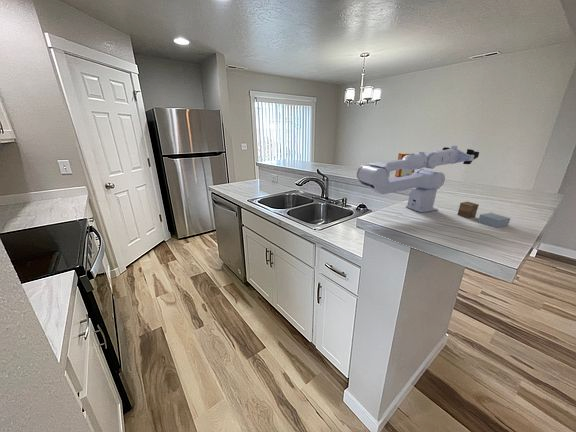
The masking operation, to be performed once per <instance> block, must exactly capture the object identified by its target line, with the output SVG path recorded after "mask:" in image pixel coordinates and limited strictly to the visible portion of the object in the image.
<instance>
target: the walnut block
mask: <svg viewBox="0 0 576 432" xmlns="http://www.w3.org/2000/svg"><path fill="white" fill-rule="evenodd" d="M479 205H480V204H478V203H475V202H470V201H465V202H464V201H463V202H460V204H459V207H458V212H457V216H459V217H462V218H465V219H473V218H476V215H477V212H478V209H479Z"/></svg>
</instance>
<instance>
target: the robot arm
mask: <svg viewBox="0 0 576 432" xmlns="http://www.w3.org/2000/svg"><path fill="white" fill-rule="evenodd" d="M408 153H409V155H406V156H404V157H403V158H402V160H398V159H395V160H386V161H377V162H370V163H368V164H362V165H360V166H359V167H358V168H357V170H356V179H357V180H358V181H359V183H360V184H361V185H362V186H365V187H367V188H368V189H370V190H372V191H374V193H377V194H380V195H387V194H392V193H393V194H394V193H397V192H402V191H407V190H410V192H409V195H408V199H407V204H406V205H405V208H407V209H410V210H413V211H416V212H419V213H425V212H433V211H438V210H439V209H438V208H437V207H434V204H435V201H436V196H437V192H438V190H440V188H441V187H442V186H443V185H444V183H445V182H446V181H445V180H446V176H445V173H444V172H441V171H440V172H437V171H433V169H434V168H436V167H439V166H444V165H445V166H446V165H452V164H457V163H461V162H463V165H471V164H472V162H474V160H475V159H477V158H479V155H480V152H479V151H475V150H474V149H471V148H467V150H466V152H464V151H462V150H460V149H459V148H458V145H451V146H450V147H446V146H445V147H443V148H442V150H434V151H429V152H427V151H418V152H417V153H414V152H408ZM399 169H404V170H405V171H410V170H414V173H412V175H409V176H403V177H393V178H390V174H391V173H390V172H396V170H399ZM426 169H427V170H426ZM428 169H431V170H428ZM415 170H417V171H415ZM411 189H412V190H411Z"/></svg>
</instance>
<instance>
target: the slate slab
mask: <svg viewBox="0 0 576 432" xmlns="http://www.w3.org/2000/svg"><path fill="white" fill-rule="evenodd" d="M510 221H511V218H510V217H507V216H504V215H501V214H497V213H493V212H487V213H483V214H482V213H481V214H480V215H479V217H478V221H477V222H478V223H480V224H483V225H487V226H489V227H493V228H495V229H499V228H504V227H508V226H509V223H510Z"/></svg>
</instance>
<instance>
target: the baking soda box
mask: <svg viewBox="0 0 576 432" xmlns="http://www.w3.org/2000/svg"><path fill="white" fill-rule="evenodd" d="M409 153H410V152H399V153H398V156H397V157H398V158H397V160H402V158H403V157H404V156H406V155H409ZM412 173H415V170H410V171H405V170H404V169H399V170H395V175H394V176H395V178H398V177H403V176H409V175H412Z"/></svg>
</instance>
